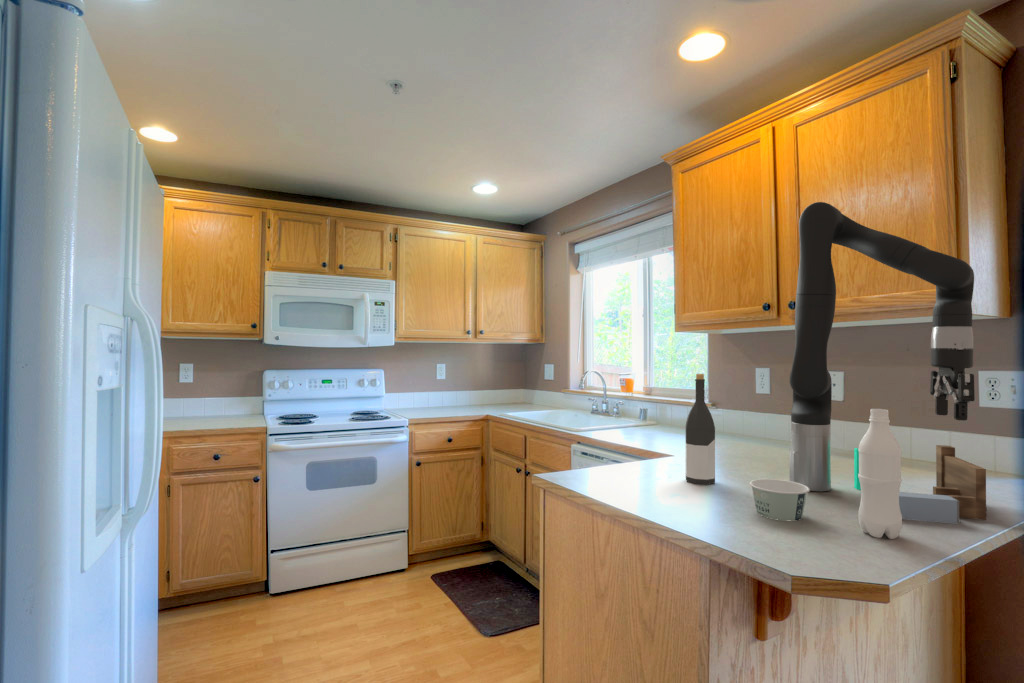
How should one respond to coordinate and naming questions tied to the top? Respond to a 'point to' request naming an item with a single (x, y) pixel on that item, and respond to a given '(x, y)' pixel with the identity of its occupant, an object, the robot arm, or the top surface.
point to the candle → (856, 469)
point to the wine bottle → (700, 440)
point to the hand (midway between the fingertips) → (950, 417)
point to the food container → (779, 498)
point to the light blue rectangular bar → (929, 507)
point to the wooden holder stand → (961, 483)
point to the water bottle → (880, 478)
